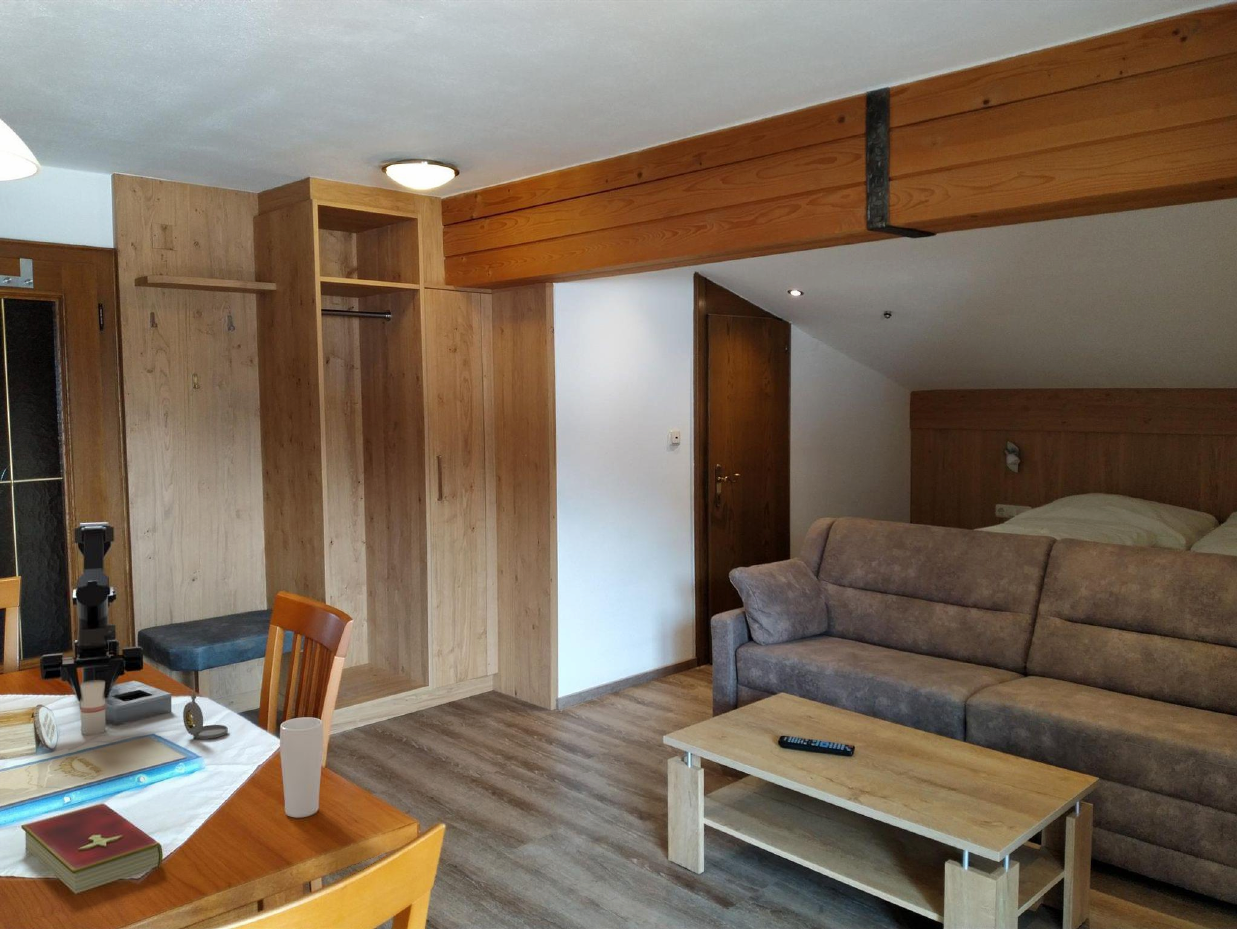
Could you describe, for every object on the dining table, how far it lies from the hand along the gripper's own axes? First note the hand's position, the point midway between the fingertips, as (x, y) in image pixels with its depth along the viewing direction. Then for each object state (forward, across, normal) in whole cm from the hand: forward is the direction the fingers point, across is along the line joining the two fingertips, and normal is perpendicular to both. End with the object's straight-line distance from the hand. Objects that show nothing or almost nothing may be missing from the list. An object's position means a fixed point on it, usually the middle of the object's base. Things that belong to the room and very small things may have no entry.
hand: (92, 698), depth 196 cm
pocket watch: (+13, +20, -3) cm, 24 cm away
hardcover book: (+48, +1, -37) cm, 61 cm away
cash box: (-4, +6, +14) cm, 16 cm away
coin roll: (+4, 0, +6) cm, 7 cm away
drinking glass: (+46, +32, -36) cm, 66 cm away
